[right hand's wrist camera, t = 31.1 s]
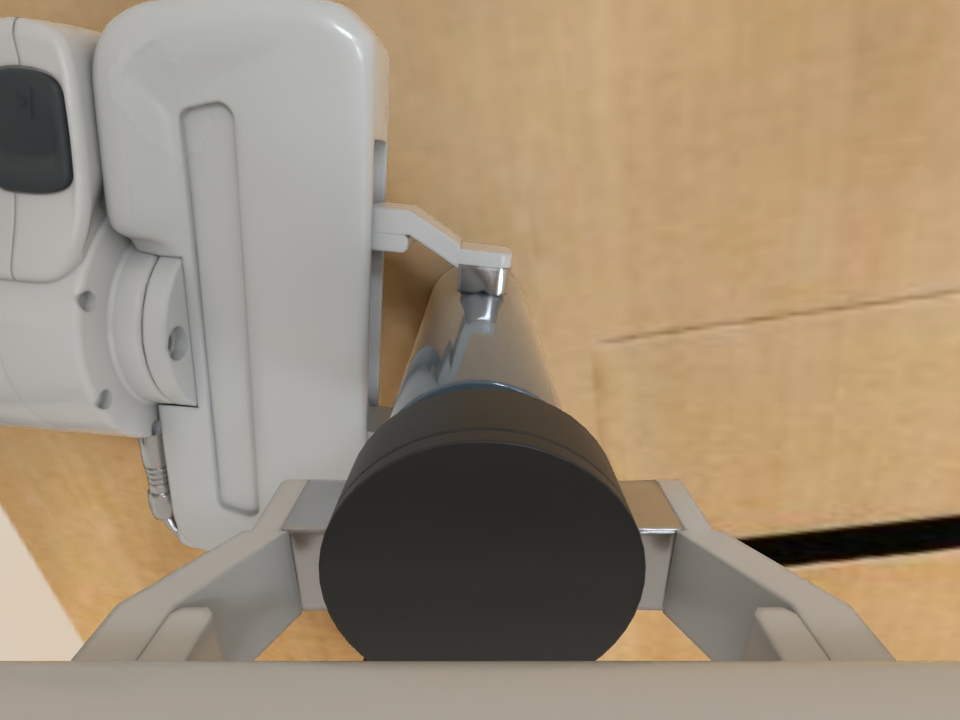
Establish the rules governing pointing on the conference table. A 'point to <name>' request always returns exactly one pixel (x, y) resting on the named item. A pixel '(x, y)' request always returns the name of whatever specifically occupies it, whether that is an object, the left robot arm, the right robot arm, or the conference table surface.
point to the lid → (482, 537)
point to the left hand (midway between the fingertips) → (500, 347)
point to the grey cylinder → (475, 346)
